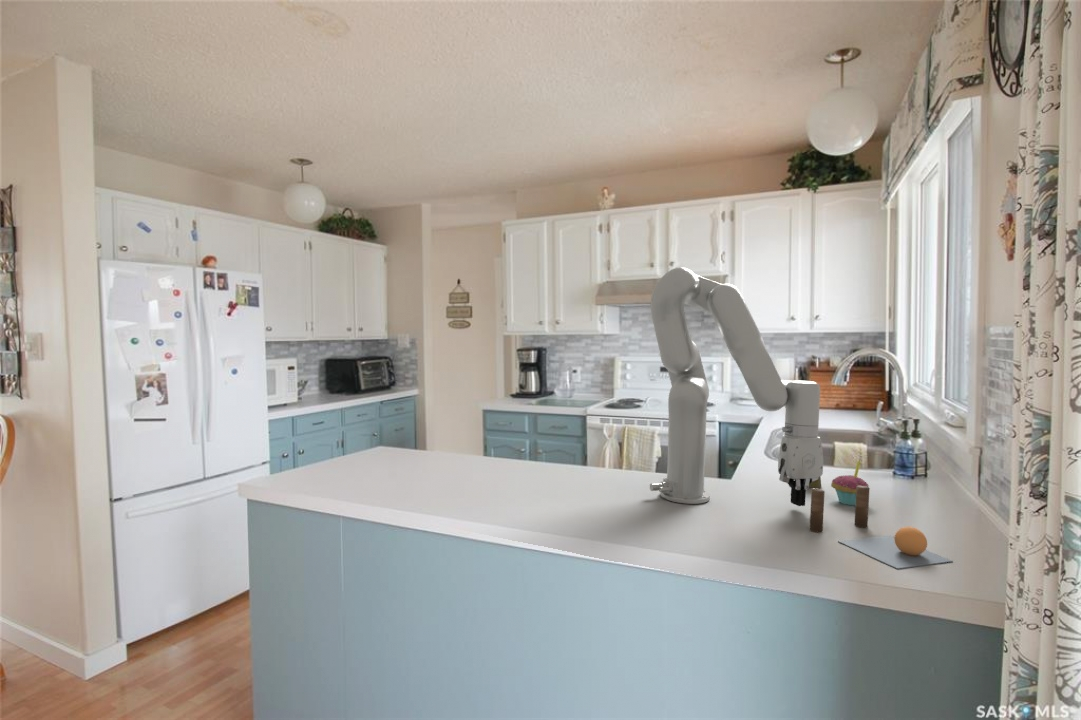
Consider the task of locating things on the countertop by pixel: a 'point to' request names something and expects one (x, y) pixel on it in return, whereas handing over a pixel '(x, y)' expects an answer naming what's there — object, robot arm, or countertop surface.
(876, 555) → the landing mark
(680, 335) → the robot arm
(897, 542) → the ball
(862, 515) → the post
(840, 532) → the countertop surface
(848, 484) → the cupcake
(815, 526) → the post
